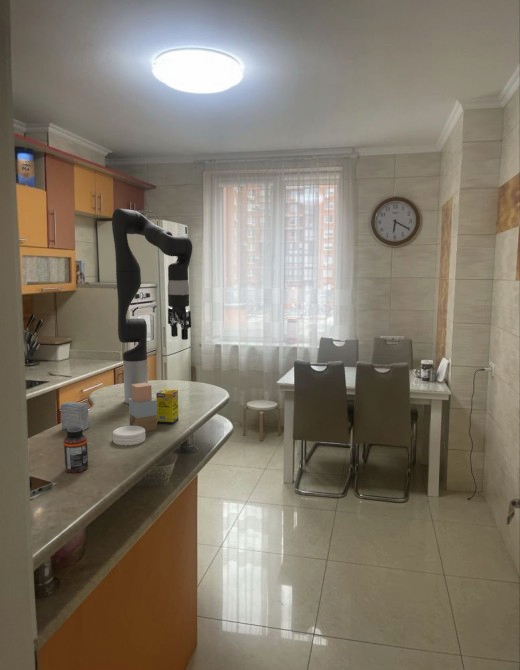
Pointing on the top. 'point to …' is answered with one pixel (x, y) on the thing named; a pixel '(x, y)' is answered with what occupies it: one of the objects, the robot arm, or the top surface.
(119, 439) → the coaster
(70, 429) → the supplement bottle
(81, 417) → the medicine box
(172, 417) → the supplement box
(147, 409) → the tower top block
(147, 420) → the tower base block
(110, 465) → the top surface
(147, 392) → the cube
